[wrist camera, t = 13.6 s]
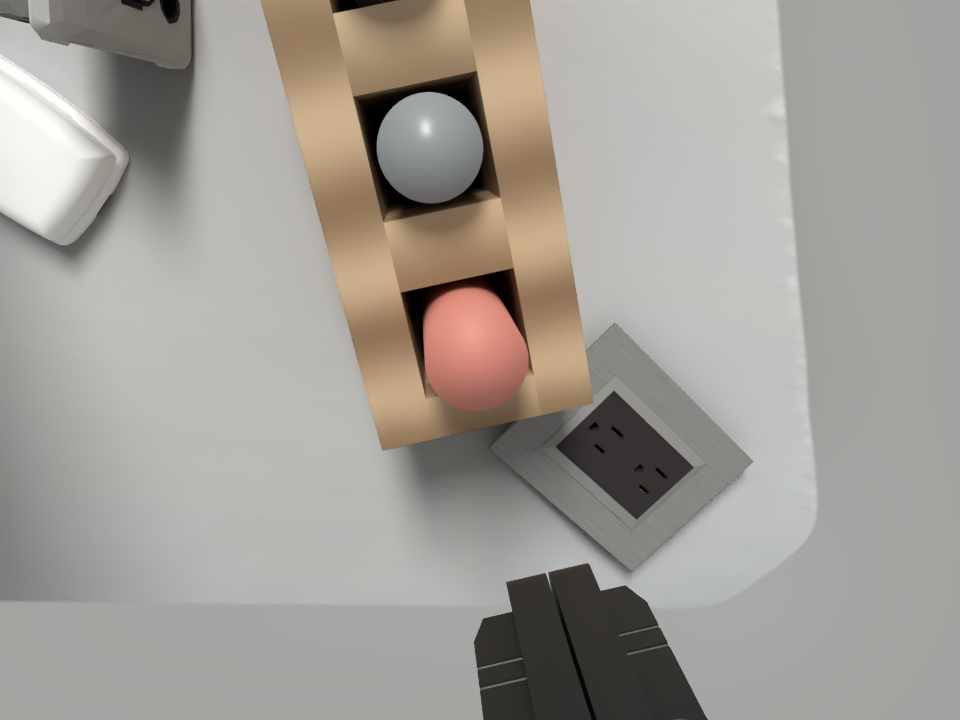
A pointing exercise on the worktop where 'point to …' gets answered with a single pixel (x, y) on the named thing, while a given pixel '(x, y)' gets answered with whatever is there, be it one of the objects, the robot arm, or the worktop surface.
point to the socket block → (434, 226)
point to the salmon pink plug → (471, 345)
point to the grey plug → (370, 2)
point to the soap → (52, 159)
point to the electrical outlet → (625, 453)
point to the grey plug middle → (429, 147)
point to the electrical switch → (113, 26)
